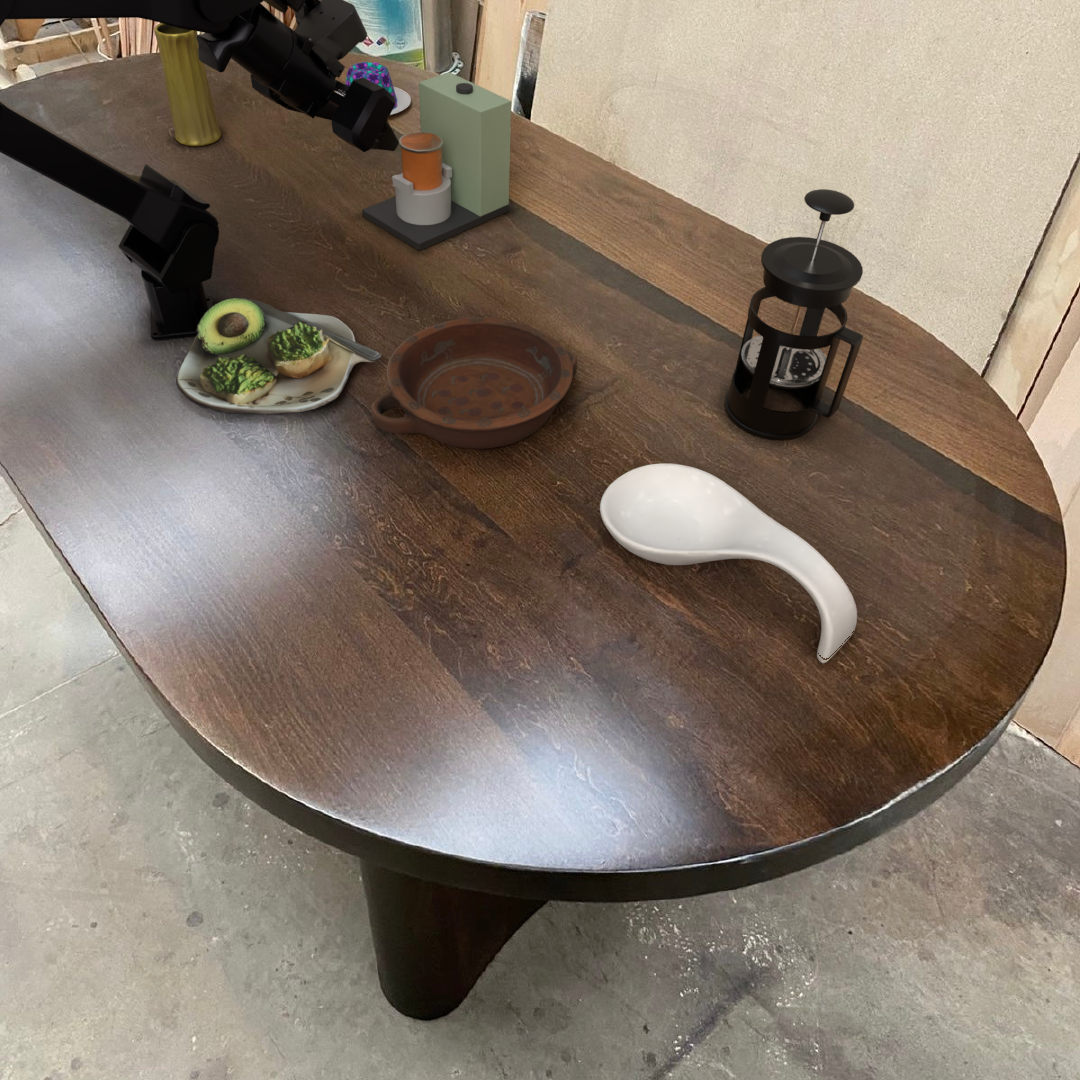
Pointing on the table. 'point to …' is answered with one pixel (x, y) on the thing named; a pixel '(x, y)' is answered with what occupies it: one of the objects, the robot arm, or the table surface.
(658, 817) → the table surface
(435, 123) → the coffee maker
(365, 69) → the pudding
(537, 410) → the dish
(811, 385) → the french press
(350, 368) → the avocado toast plate
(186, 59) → the vase
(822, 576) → the spoon rest
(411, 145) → the coffee pod
